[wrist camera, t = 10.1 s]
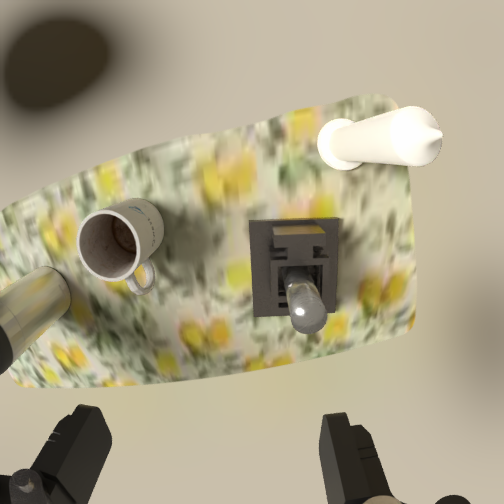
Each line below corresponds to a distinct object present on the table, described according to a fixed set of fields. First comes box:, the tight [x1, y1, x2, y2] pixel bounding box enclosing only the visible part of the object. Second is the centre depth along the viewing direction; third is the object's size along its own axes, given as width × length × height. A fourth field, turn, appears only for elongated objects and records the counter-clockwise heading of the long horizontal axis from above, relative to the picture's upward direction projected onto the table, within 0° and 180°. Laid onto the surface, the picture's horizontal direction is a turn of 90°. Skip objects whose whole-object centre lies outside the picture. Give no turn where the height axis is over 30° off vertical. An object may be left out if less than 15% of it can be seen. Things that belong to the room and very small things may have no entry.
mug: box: [76, 198, 164, 295], centre depth 40 cm, size 12×9×10 cm
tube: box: [282, 265, 327, 334], centre depth 38 cm, size 4×4×14 cm
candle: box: [317, 106, 443, 170], centre depth 28 cm, size 7×7×25 cm
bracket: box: [249, 217, 338, 317], centre depth 42 cm, size 12×14×7 cm
